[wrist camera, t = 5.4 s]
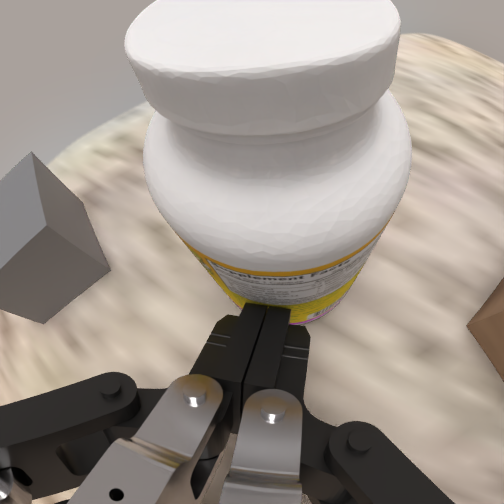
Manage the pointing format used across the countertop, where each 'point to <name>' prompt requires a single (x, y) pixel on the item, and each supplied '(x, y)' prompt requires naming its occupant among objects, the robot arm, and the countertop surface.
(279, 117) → the supplement bottle
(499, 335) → the walnut block
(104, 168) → the countertop surface
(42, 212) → the charcoal block
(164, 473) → the robot arm
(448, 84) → the countertop surface
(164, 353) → the countertop surface
